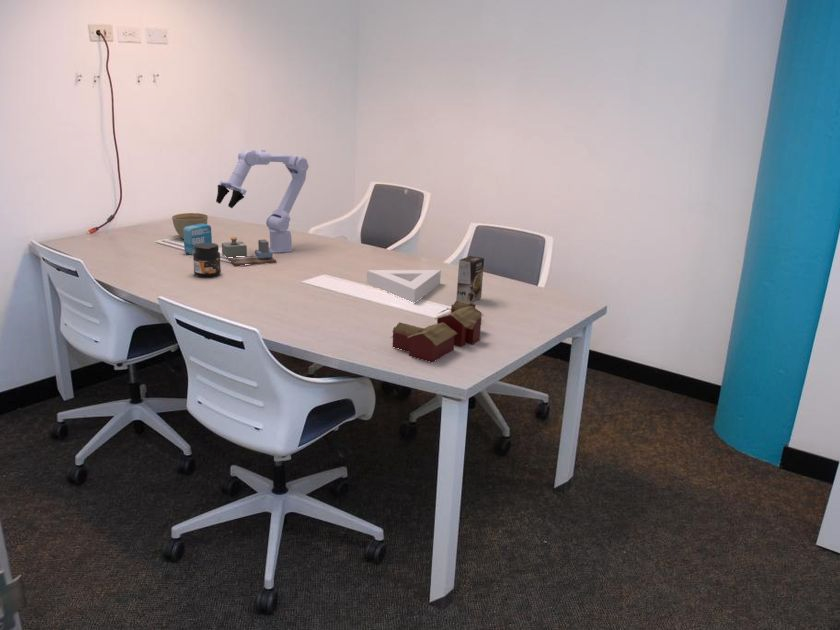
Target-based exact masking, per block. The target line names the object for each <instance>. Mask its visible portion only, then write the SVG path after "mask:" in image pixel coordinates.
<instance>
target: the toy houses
mask: <svg viewBox="0 0 840 630" xmlns="http://www.w3.org/2000/svg"><path fill="white" fill-rule="evenodd" d="M476 307H477V305H476V304H475V303H474V302H473V303H469V302H463V301H461V300H456V299H455V301H454V303H452V305H451V307H450V308H449V311H450V313H449V314H445V315H442V316H438V317H437V318H435V320H436V321H437V322H436V323H435V324H432V325H428V326H427V327H425V328H424V327H419V326H417V325H412V324H410V323H409V324H408V323H403V322H402V321H401V322H398V323H397V324H396V326H394V327H393V329H392V331H391V332H392V336H390V338H392V348H393V347H395V348H399V349H402V350H405V351H404V352H406V351H409V352H408V357H410V356H412V357H411V358H414V357H415V358H414V359H417V358H419V359H418V360H421V359H423V360H422V361H425V360H427V361H426V362H428V361H430V362H429V363H432V362H433V363H434V362H436V361H437V359H438V360H440V359H441V358H442V356H443V357H445V356H446V355H447V354H449V353H450V352H452V351H454V350H455V347H458V348H462V346H463V347H464V346H466V344H468V345H472V346H473V345H474V344H476V343H478V342H480V338H481V328H482V327H481V325H482V317H483V316H485V315H484V314H483V312H481V311H480V310H478V309H477V308H476ZM454 345H455V346H454ZM395 348H394V349H395ZM399 349H398V350H399ZM402 350H401V351H402ZM445 354H446V355H445ZM440 357H441V358H440ZM435 360H436V361H435Z"/></svg>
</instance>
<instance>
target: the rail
mask: <svg viewBox="0 0 840 630" xmlns="http://www.w3.org/2000/svg"><path fill="white" fill-rule="evenodd" d="M229 260H230V261H231V262H230V261H229ZM228 261H229V262H230V264H231V265H232V266H234V267H241V266H240V265H245V264H258V265H266V264H265V263H269V264H277V260H276V258H274V257H272V258H266V259H258V257H257V256H256V255H249V256H248V255H247V256H245V257H233V258H228Z"/></svg>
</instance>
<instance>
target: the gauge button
mask: <svg viewBox="0 0 840 630" xmlns="http://www.w3.org/2000/svg"><path fill="white" fill-rule="evenodd" d="M237 240H238V237H235V236H234V237H232V236H231V237H230V241H231V242H232V245H236V242H237Z"/></svg>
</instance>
